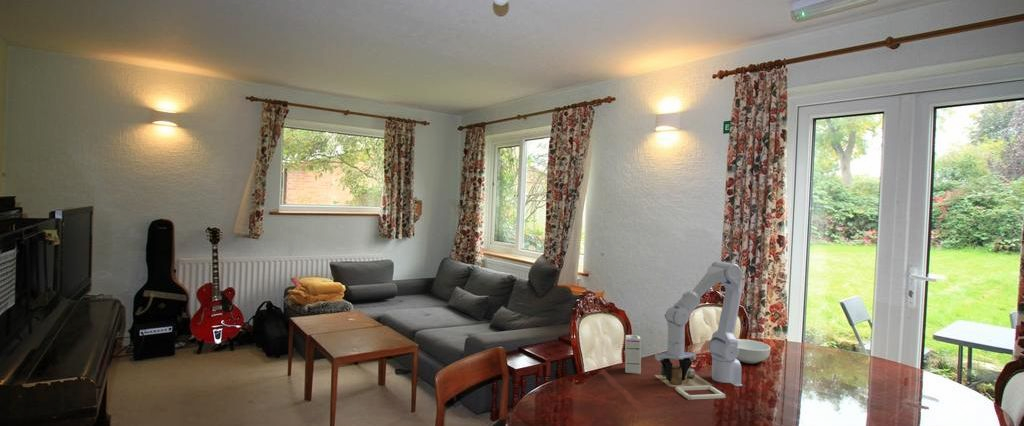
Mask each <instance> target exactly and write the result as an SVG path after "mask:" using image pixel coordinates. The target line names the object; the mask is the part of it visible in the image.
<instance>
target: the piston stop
mask: <svg viewBox="0 0 1024 426" xmlns="http://www.w3.org/2000/svg"><path fill="white" fill-rule="evenodd" d="M669 383H670V384H673V385H681V384H682V367H680V365H672V369H671V381H669Z"/></svg>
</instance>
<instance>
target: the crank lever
mask: <svg viewBox="0 0 1024 426" xmlns="http://www.w3.org/2000/svg"><path fill="white" fill-rule="evenodd" d="M695 374H696V370H695V368H691V367H689V369H688V371H687V374H686V376H687V377H691V378H693V377H695ZM660 375H661V376H662V377H666V375H665V371H664V368H663V366H662V364H661V365H660Z"/></svg>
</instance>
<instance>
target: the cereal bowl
mask: <svg viewBox="0 0 1024 426" xmlns="http://www.w3.org/2000/svg"><path fill="white" fill-rule="evenodd" d="M736 339H737V340H738V350H739V353H738V356H737V358H736V359H737V360H738V361H739V362H740V363H745V364H757V363H760V362H764V361H765V360H767V359H768V358H769V357H770V355H771V346H770V345H769V344H767V343H764V342H761V341H758V340H752V339H744V338H743V339H741V338H739V339H738V338H736Z"/></svg>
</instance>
